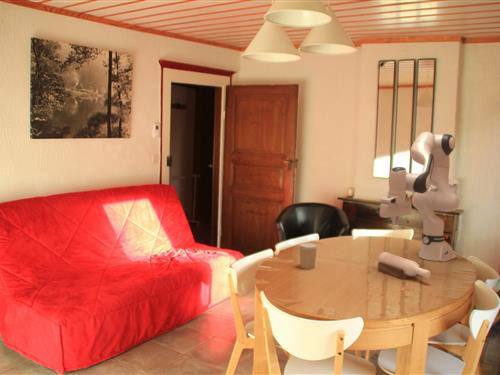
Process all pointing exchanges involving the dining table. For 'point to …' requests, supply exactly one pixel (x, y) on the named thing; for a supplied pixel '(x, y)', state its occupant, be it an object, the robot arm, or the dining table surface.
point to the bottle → (403, 265)
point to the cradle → (392, 270)
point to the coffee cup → (307, 255)
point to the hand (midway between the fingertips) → (395, 224)
